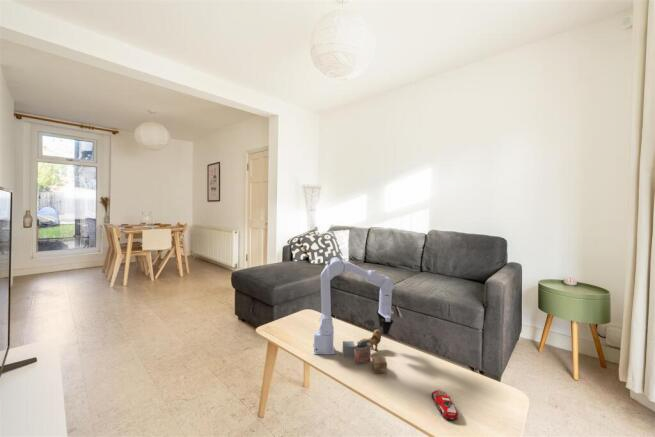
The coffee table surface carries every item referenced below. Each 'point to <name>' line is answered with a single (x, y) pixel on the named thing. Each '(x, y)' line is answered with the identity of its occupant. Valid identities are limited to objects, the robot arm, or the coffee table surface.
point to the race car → (444, 405)
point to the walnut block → (379, 365)
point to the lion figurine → (375, 339)
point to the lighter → (362, 352)
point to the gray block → (348, 349)
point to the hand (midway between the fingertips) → (383, 330)
